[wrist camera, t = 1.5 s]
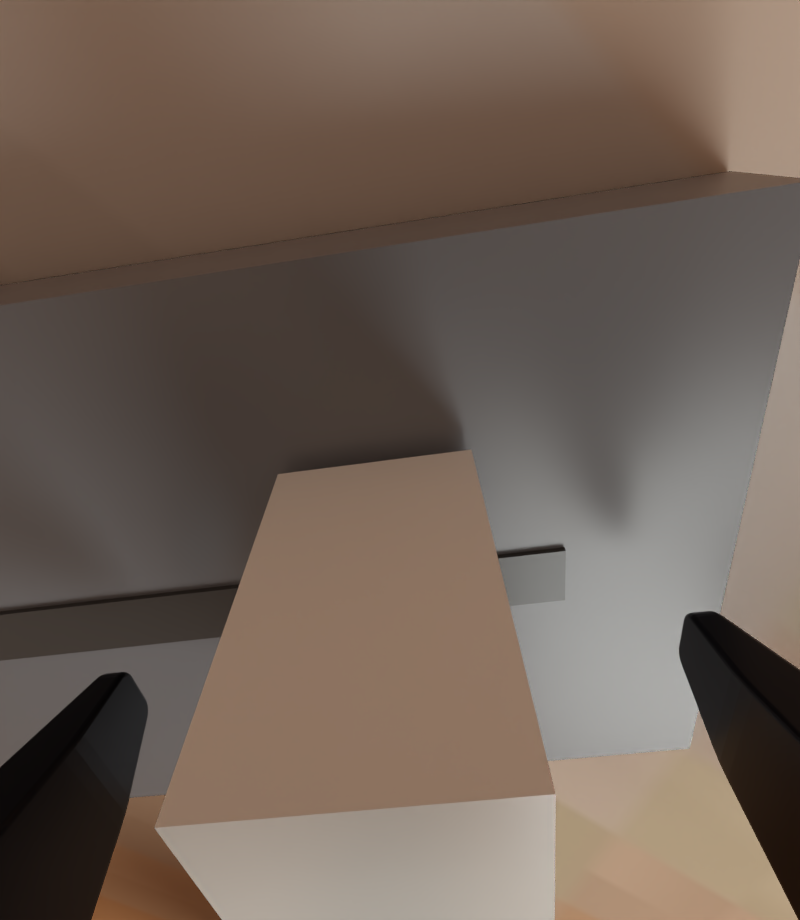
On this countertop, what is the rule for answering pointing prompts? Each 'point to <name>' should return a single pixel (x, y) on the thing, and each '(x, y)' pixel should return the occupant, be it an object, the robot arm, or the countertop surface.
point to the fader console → (399, 438)
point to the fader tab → (368, 714)
